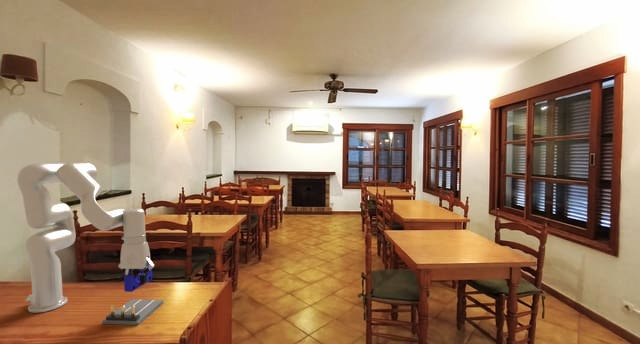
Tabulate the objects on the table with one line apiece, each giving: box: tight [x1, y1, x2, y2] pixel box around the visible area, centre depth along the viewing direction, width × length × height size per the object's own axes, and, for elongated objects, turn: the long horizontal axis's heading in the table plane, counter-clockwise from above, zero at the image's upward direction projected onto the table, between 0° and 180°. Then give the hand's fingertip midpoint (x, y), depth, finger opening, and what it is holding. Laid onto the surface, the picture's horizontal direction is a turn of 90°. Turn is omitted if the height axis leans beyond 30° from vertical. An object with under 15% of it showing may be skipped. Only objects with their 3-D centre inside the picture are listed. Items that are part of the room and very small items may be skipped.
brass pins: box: [105, 304, 140, 321], centre depth 121 cm, size 12×2×5 cm, turn 87°
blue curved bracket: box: [123, 265, 153, 293], centre depth 129 cm, size 12×4×6 cm, turn 172°
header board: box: [102, 299, 164, 326], centre depth 128 cm, size 14×17×1 cm
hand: (137, 283), depth 129 cm, fingers closed on blue curved bracket, 4 cm apart
